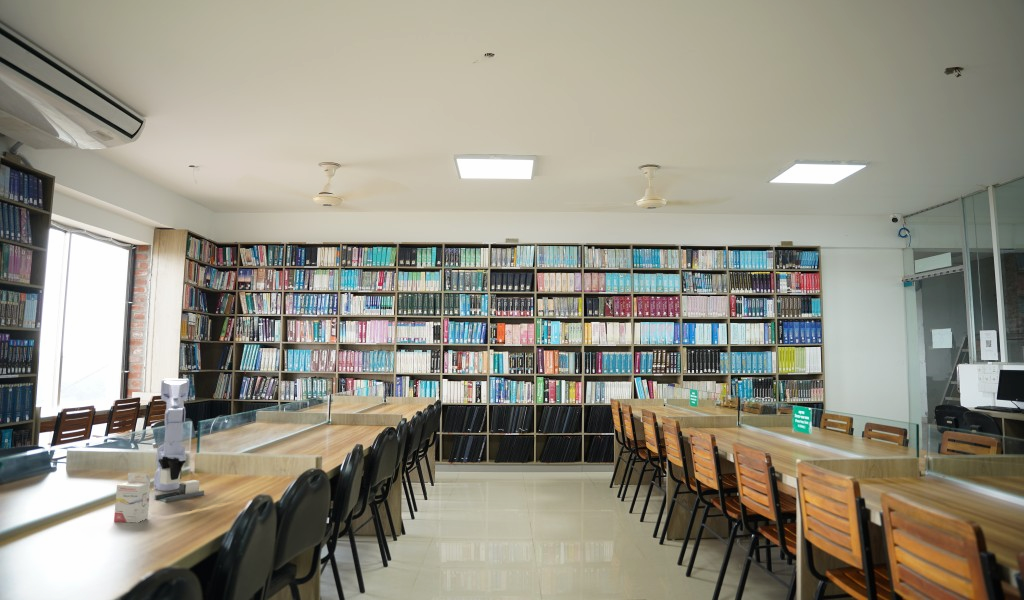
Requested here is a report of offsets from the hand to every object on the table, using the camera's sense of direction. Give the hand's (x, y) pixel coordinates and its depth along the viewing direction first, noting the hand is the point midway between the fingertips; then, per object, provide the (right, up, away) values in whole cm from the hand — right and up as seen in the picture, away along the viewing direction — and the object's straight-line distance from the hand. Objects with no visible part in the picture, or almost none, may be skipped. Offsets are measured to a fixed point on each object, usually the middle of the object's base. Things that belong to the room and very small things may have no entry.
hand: (170, 478), depth 213 cm
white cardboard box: (0, -1, 0) cm, 1 cm away
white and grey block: (+4, -8, +6) cm, 10 cm away
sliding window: (+2, -9, +2) cm, 9 cm away
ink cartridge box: (+1, -7, -24) cm, 25 cm away
